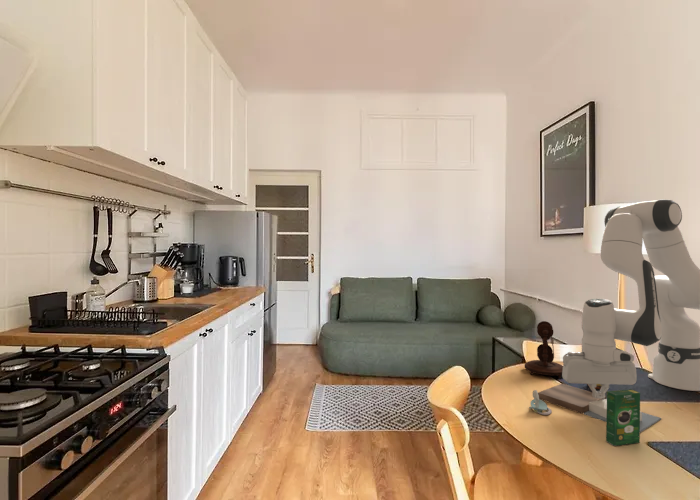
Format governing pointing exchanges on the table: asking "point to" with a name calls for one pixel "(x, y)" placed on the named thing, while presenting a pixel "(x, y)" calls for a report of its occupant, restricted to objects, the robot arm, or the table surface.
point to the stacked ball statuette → (544, 354)
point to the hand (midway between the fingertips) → (598, 397)
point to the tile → (602, 408)
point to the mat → (644, 424)
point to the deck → (568, 397)
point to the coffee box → (623, 417)
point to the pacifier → (539, 405)
